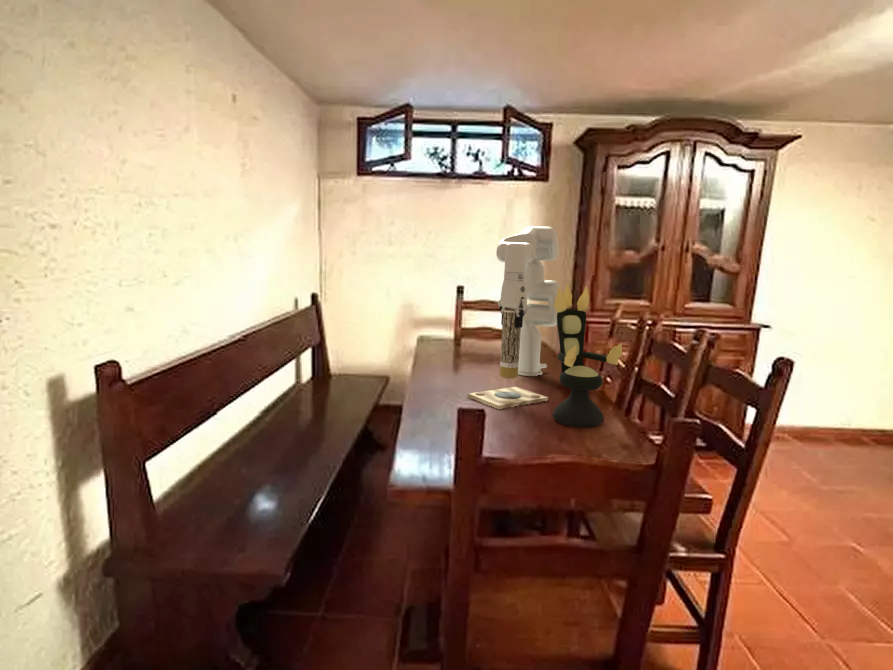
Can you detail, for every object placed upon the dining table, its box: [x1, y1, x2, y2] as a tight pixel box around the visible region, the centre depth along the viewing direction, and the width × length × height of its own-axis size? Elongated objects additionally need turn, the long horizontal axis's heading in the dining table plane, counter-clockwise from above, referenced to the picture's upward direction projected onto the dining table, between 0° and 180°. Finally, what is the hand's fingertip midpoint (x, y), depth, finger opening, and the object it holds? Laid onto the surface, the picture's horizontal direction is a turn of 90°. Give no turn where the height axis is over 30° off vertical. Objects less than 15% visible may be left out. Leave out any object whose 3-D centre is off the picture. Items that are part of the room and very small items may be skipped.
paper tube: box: [499, 308, 521, 379], centre depth 217 cm, size 7×7×25 cm
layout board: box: [467, 386, 549, 410], centre depth 220 cm, size 24×18×2 cm
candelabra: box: [552, 283, 623, 428], centre depth 194 cm, size 19×22×45 cm
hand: (511, 325), depth 216 cm, fingers closed on paper tube, 6 cm apart
